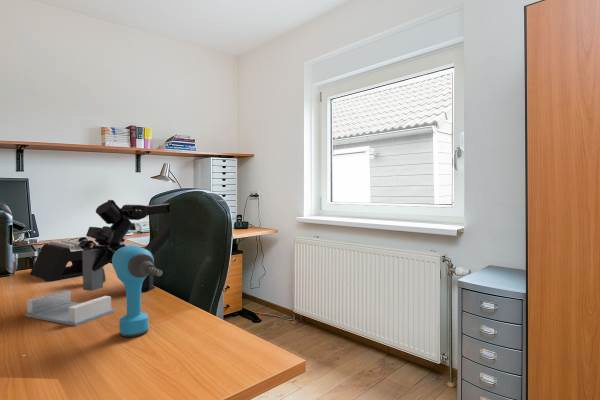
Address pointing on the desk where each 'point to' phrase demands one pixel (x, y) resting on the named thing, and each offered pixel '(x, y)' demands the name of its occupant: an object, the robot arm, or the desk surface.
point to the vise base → (63, 314)
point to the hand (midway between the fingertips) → (88, 269)
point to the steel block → (90, 277)
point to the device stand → (58, 261)
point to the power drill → (133, 286)
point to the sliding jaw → (48, 301)
